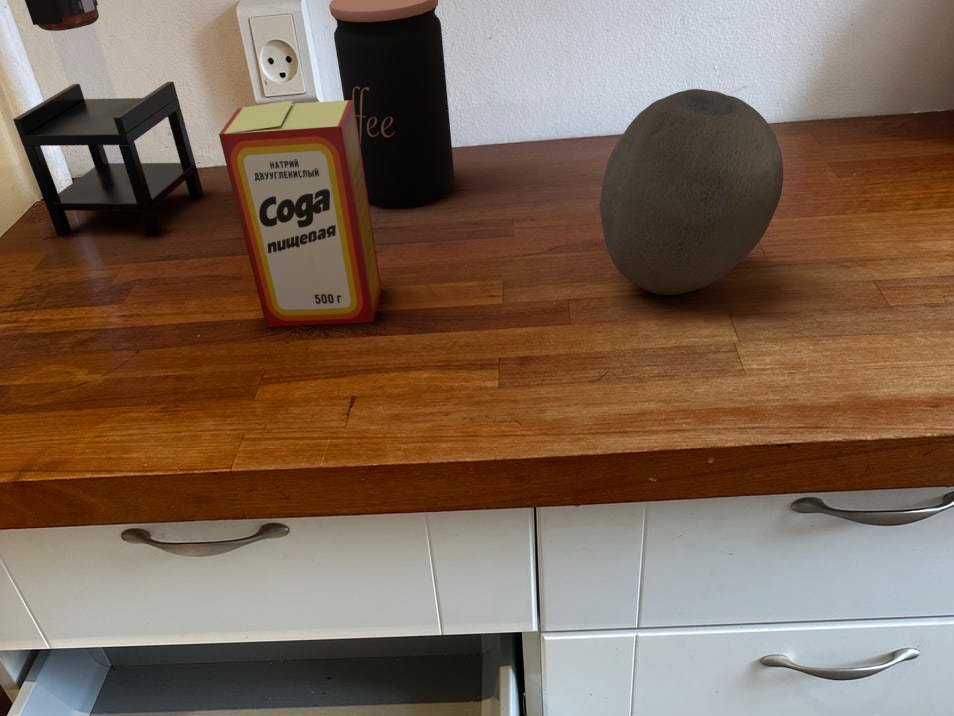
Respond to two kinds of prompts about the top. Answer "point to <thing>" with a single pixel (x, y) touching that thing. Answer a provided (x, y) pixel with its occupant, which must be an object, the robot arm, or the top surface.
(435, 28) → the coffee jar
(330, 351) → the top surface
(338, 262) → the baking soda box
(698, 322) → the top surface
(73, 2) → the supplement bottle
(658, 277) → the dark grey oval lump
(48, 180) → the rack
